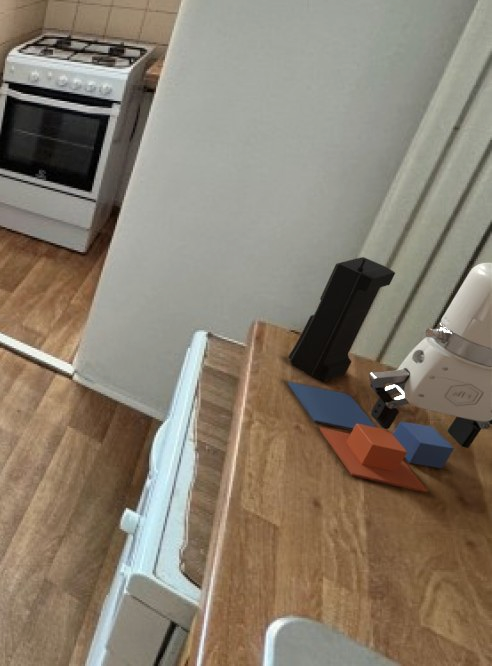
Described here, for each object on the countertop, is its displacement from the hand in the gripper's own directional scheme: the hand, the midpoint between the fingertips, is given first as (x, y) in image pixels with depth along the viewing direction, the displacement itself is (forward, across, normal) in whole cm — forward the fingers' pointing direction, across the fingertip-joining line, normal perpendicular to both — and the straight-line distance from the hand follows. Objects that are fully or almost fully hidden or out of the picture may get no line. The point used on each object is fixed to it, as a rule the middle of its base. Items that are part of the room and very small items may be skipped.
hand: (417, 430), depth 93 cm
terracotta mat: (+5, -6, -4) cm, 9 cm away
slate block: (+4, +1, 0) cm, 5 cm away
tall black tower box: (+5, -3, +18) cm, 19 cm away
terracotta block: (+4, -6, -4) cm, 8 cm away
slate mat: (+5, -6, +7) cm, 10 cm away
